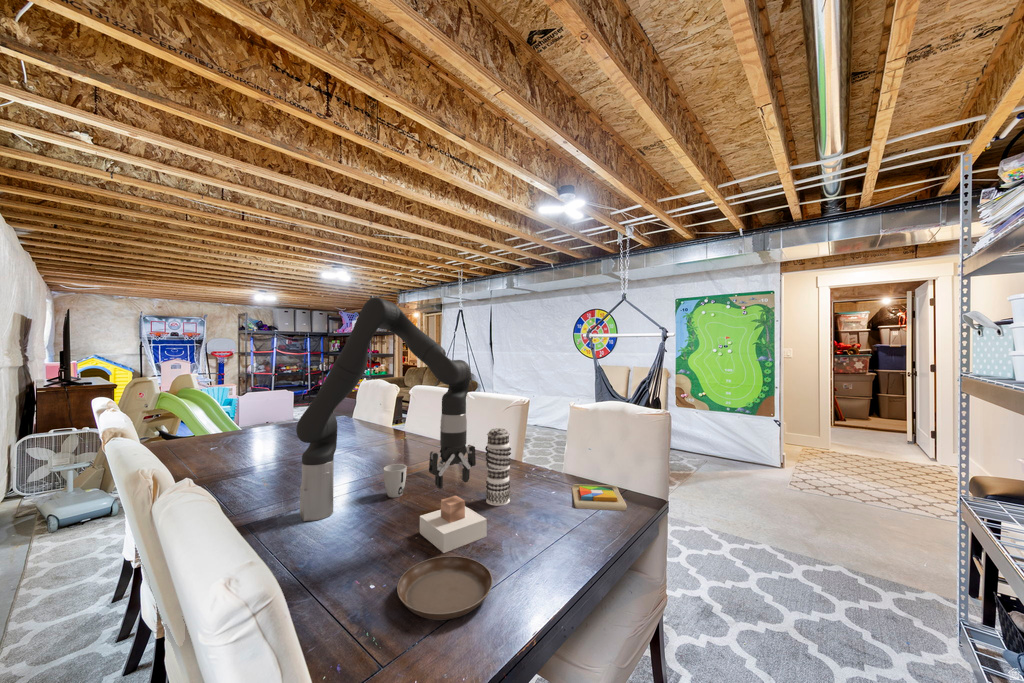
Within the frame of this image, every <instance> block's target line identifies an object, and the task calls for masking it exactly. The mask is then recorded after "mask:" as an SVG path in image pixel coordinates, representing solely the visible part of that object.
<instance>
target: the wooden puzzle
mask: <svg viewBox="0 0 1024 683" xmlns="http://www.w3.org/2000/svg"><path fill="white" fill-rule="evenodd" d="M571 492H572V498H573V504H574V507H575V508H576V509H579V510H594V511H595V510H599V511H601V510H602V511H603V510H604V511H616V512H617V511H620V512H625V511H626V510H627V507H628V506H627V503H626V500H624V498H623V496H622V495H621V493H620V491H619V488H618V487H617V486H615V485H607V484H606V485H603V484H602V485H601V484H600V485H599V484H577V483H575V484H573V485H572V487H571Z"/></svg>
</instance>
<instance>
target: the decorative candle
mask: <svg viewBox="0 0 1024 683" xmlns="http://www.w3.org/2000/svg"><path fill="white" fill-rule="evenodd" d="M486 435H487V442H486V446H485V451H486V452H485V456H486V457H485V462H486V463H485V465H486V470H487V475H486V481H485V483H486V485H485V487H486V489H485V493H486V494H485V498H486V499H485V500H486V503H487V504H488V505H491V506H497V507H498V506H501V507H502V506H505V505H507V504H509V503H510V502H511V500H510V497H511V494H510V493H511V490H510V487H511V485H510V483H511V480H510V474H509V472H510V471H509V470H510V469H511V462H510V461H511V457H510V455H511V454H512V452H510V451H511V450H512V448H511V447H510V438H509V437H510V433H509V432H508V431H507V430H506V429H505V428H491V429H490V430H489V431H488V432H487V433H486Z"/></svg>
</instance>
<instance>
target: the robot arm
mask: <svg viewBox="0 0 1024 683" xmlns="http://www.w3.org/2000/svg"><path fill="white" fill-rule="evenodd" d="M378 329H379V330H386V331H388V332H391V333H393V334H394V335H395V336H397V337H398V338H400V339H401V340H402V341H403V342H404V344H405V345H406V347H407V348H408V350H409V351H410V352H411V354H413V355H414V356H415V357H416V358H417V359H418V360H420V361H421V362H422V363H423V364H425V365H426V367H428V368H429V370H430V372H431V373H432V374H433V375H434V377H435V378H436V379H437V380H438V381H439V382H440V383H441V384H444V385H445V386H446V385H447V386H448V389H447V391H446V392H445V393H444V394H443V395H442V396H441V416H440V426H439V428H440V431H439V432H440V434H439V435H440V437H439V438H440V439H439V440H440V441H439V443H440V444H439V446H440V450H439V451H436V452H435V451H430V453H429V462H428V463H429V464H428V465H429V466H428V473H429V474H431V475H433V476H435V477H434V478H435V479H434V481H435V482H434V484H435V487H437V489H439V490H442V489H444V488H443V485H444V480H443V479H444V475H443V474H444V472H445V471H446V470H447V469H448V468H449V466H453V465H458V464H460V465H461V466H462V467H463V468H462V470H461V474H462V476H461V477H462V478H461V479H462V482H464V483H468V482H469V480H470V473H471V472H470V470H471V468H472V467H475V466H476V461H477V460H476V447H475V446H474V445H472V444H468V445H467V426H468V424H467V423H468V422H467V395H468V392H469V389H470V388H469V387H470V383H471V377H472V372H471V368H470V365H469V364H468V363H467V362H466V361H465V360H462V359H451V358H449V357H448V356H446V354H447V353H446V350H445V349H444V348H443V346H441V345H440V344H439V343H437V341H435V340H434V339H433V338H431V337H430V336H428V334H426V333H425V332H423V331H422V330H421V329H420V328H419V327H417V326H416V324H414V323H413V322H412V320H410V319H409V318H408V316H406V314H405V313H404V312H403V311H402V310H401V309H400V308H399V306H398V305H397V304H396V303H394V302H392V301H389V300H387V299H383V298H381V297H377V296H375V297H371V298H369V299H368V300H367V301H366V302H365V303H364V304H363V306H362V308H361V310H360V312H359V314H358V317H357V319H356V321H355V324H354V326H353V328H352V330H351V332H350V335H349V336H348V338H347V340H346V341H345V343H344V345H343V348H342V349H341V351H340V353H339V355H338V356H337V358H336V360H335V361H334V363H333V364H332V366H331V369H330V370H329V371H328V374H327V376H326V377H325V380H324V381H323V383H322V384H321V386H320V388H319V390H318V392H317V393H316V396H315V397H314V398H313V399H312V401H311V403H310V404H309V405H308V407H307V408H306V410H305V411H304V412H303V413H302V415H301V417H300V418H299V420H298V421H297V424H296V430H295V431H296V437H297V439H299V440H300V441H301V442H302V443H304V444H305V443H306V444H309V445H308V447H307V448H306V450H305V451H303V453H302V455H301V485H300V486H299V516H300V518H301V520H302V521H303V522H308V521H319V520H323V519H326V518H329V517H330V516H331V515H333V513H334V470H335V469H334V466H335V465H334V464H335V463H334V460H335V458H334V457H335V453H336V451H337V443H338V421H337V420H338V419H337V418H336V416H335V414H334V413H333V412H334V411H335V409H336V408H337V407H338V406H339V405H340V403H342V402H343V401H344V400H345V399H346V398H347V397H348V396H349V395H350V393H352V392H353V391H354V390H355V389H356V387H357V385H358V384H359V383H360V380H361V379H362V377H363V376H364V374H365V373H366V369H367V367H368V358H369V346H370V343H371V341H372V339H373V337H374V335H375V334H376V332H377V331H378ZM466 445H467V446H466ZM466 453H467V458H466V457H465V455H466ZM440 458H441V459H440Z"/></svg>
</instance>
